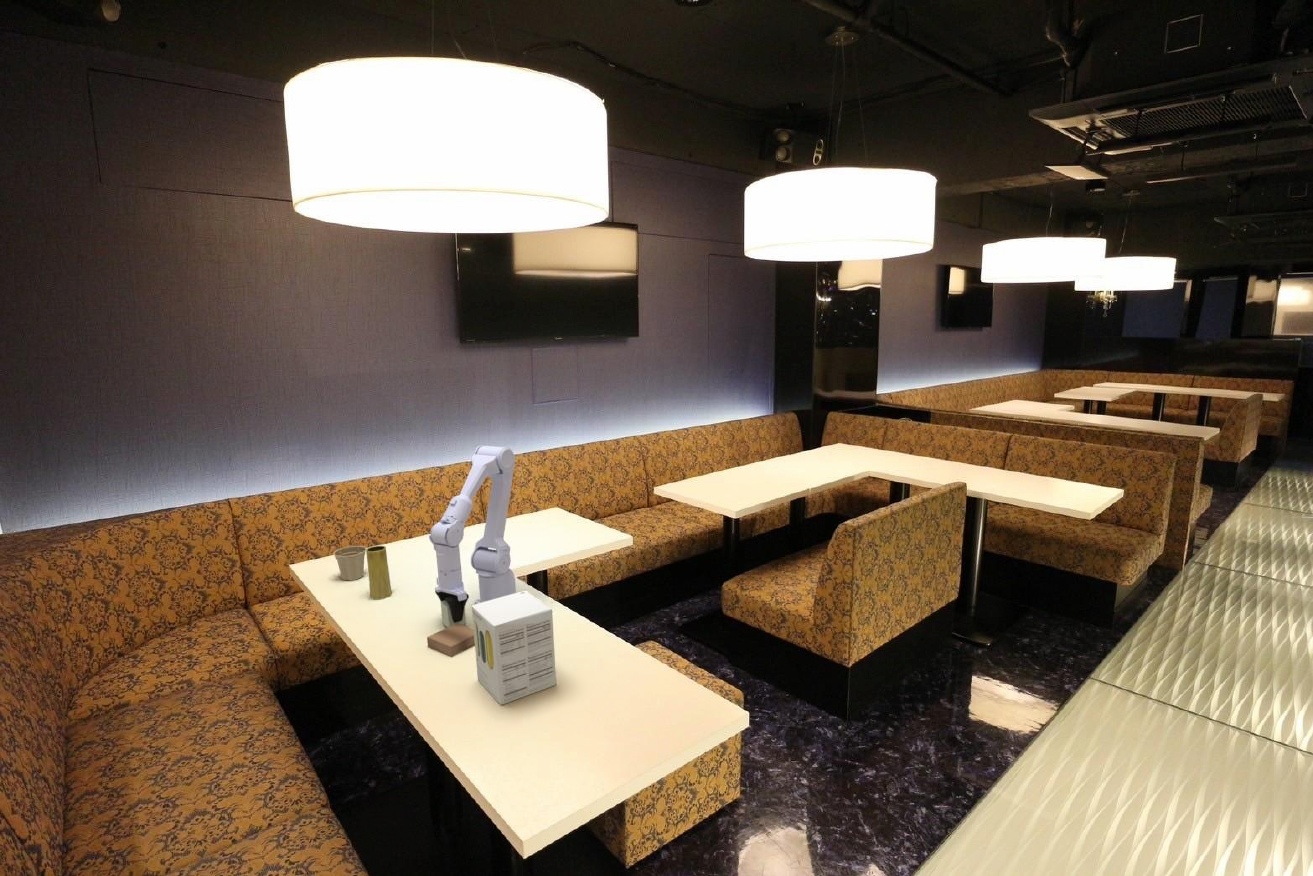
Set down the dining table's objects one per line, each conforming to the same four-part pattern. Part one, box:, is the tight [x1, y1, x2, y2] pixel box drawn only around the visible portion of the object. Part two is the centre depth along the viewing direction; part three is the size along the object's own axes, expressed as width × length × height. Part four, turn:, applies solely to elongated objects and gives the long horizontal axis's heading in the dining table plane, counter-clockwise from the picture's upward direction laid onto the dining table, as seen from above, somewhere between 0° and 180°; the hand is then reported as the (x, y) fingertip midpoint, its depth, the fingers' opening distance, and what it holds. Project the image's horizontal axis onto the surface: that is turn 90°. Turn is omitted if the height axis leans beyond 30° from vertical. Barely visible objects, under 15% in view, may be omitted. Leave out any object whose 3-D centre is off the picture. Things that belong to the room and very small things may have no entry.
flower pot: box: [333, 545, 368, 582], centre depth 208 cm, size 9×9×9 cm
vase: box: [365, 545, 393, 600], centre depth 193 cm, size 6×6×14 cm
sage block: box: [440, 600, 467, 628], centre depth 172 cm, size 4×4×6 cm
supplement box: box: [471, 590, 557, 706], centre depth 143 cm, size 13×13×18 cm
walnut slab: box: [426, 623, 475, 658], centre depth 162 cm, size 9×9×3 cm
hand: (454, 618), depth 173 cm, fingers closed on sage block, 4 cm apart
